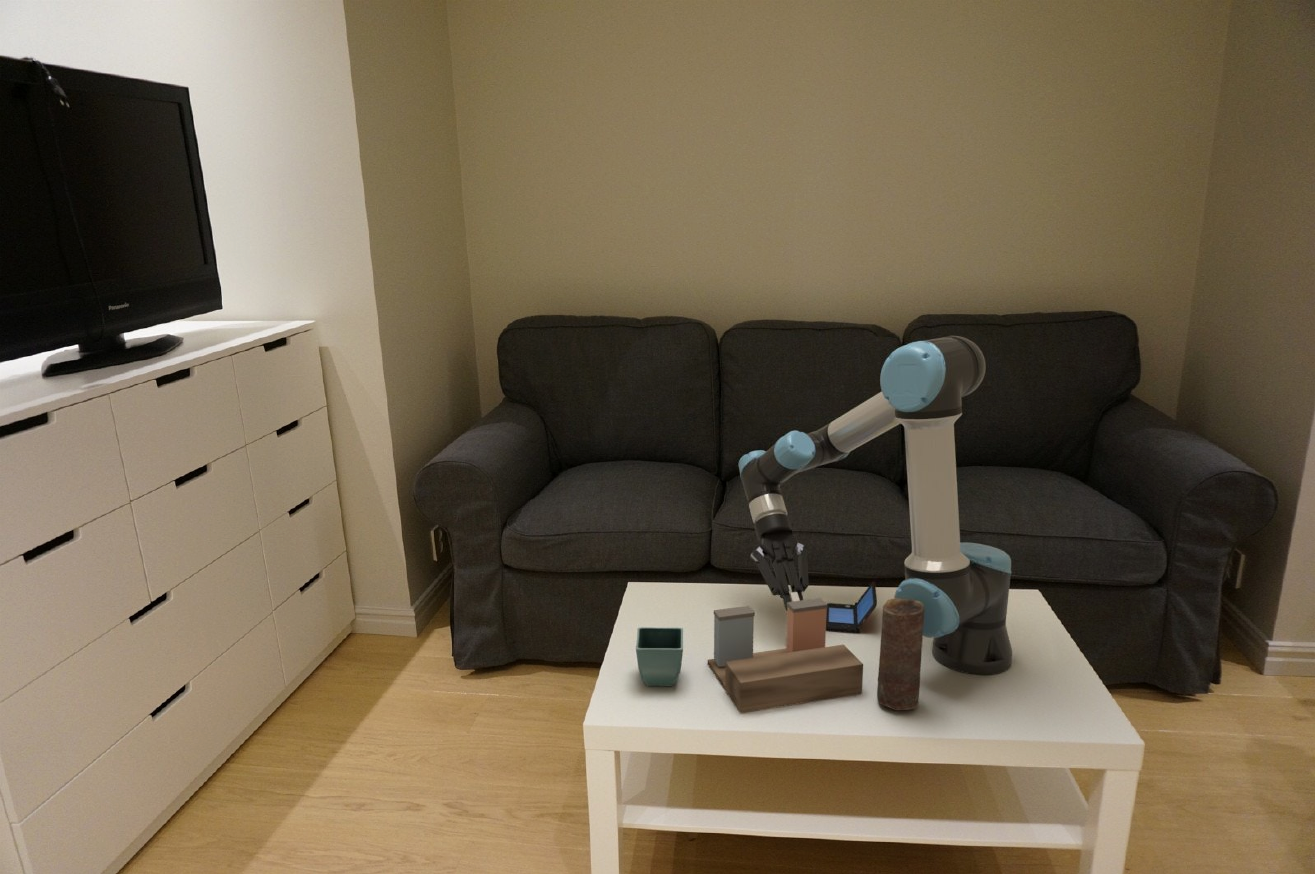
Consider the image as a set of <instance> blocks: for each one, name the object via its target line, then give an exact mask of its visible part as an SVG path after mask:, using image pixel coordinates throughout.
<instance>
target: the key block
mask: <svg viewBox="0 0 1315 874" xmlns="http://www.w3.org/2000/svg"><path fill="white" fill-rule="evenodd" d="M708 665H709V666H708ZM707 666H708V667H709V669H710V670H711V673H713V674H715V675H714V676H715V677H716V679H717V680H718V682H719V683H720V685H721V687H722V688H723V690H724V691H725V692H726V694H727V696H728V697H729V698H731V699H730V700H731V702H732V703H733V705H734V706H735V708H736V707H737V708H736V709H737V710H738V713H740V714H744V713H749V711H750V712H755V711H761V710H767V709H773V708H779V707H785V706H791V705H798V704H805V703H810V702H819V701H823V700H828V699H830V700H831V699H835V698H843V697H849V696H853V695H854V696H855V695H860V694H861V693H862V694H863V680H864V679H863V678H864V677H863V676H864V663H863V662H862V661H861V660H860V659H859V658H858V657H857V656H856V655H855V654H854V653H853V652H852V651H851V650H850V649H849V648H848V647H846V645H845V644H837V645H831V646H825V647H823V648H816V649H809V650H803V651H796V652H789V653H787V652H786V647H785V648H779V649H773V650H765V651H759V652H758V651H756V652H753V658H748V659H741V660H734V661H727V662H726V666H724V667H719V666H718V665H717V664H716V662H715V661H714V658H711V659H707Z"/></svg>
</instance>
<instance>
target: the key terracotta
mask: <svg viewBox="0 0 1315 874" xmlns="http://www.w3.org/2000/svg"><path fill="white" fill-rule="evenodd" d="M786 612H787V615H786V617H787V618H786V642H785V643H786V644H785V646H786V647H785V648H786V652H787V653H789V652H796V651H803V650H809V649H816V648H823V647H826V636H827V635H826V633H827V631H826V612H827V603H826V602H825V601H824V600H823V599H822V598H821V597H819V598H810V599H804V600H801V601H793V602H787V611H786Z"/></svg>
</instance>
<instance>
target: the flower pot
mask: <svg viewBox="0 0 1315 874" xmlns="http://www.w3.org/2000/svg"><path fill="white" fill-rule="evenodd" d="M635 652H636V659H637V667H638V673H639V675H640V677H641V679H642V682H643V683H644V684H645V685H646V686H647V687H673V686H674V685H675V683H676V682H677V681H678V679H679V676H680V674H681V671H682V670H681V669H682V662H683V653H684V629H683V628H682V627H647V626H646V627H638V628H637V633H636V644H635Z"/></svg>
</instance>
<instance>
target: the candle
mask: <svg viewBox="0 0 1315 874" xmlns="http://www.w3.org/2000/svg"><path fill="white" fill-rule="evenodd" d="M924 611H925V607H924V605H923V603H922V602H919V601H915V600H911V599H904V600H902V599H899V598H897V599H896V598H895V597H894V598H889V599H887V601H885V602H884V604H883V606H882V612H881V613H882V615H881V629H880V630H881V631H880V633H881V634H880V648H879V649H880V650H879V659H878V671H877V672H878V673H877V674H878V677H877V688H876V699H877V701H878V702H879V704H880V705H884V706H886V707H888V708H890V709H893V710H895V711H901V710H902V711H904V710H912V709H913V710H914V709H916V708H917V707H918V706H919V699H920V687H921V685H920V683H921V669H922V668H921V667H922V665H921V664H922V653H923V652H922V650H923V648H922V647H923V640H924V639H923V637H924V636H923V624H924Z"/></svg>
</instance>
